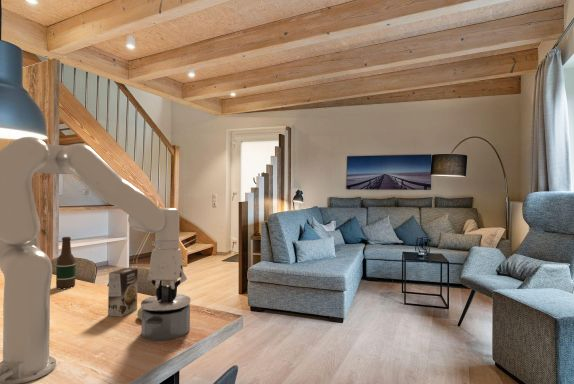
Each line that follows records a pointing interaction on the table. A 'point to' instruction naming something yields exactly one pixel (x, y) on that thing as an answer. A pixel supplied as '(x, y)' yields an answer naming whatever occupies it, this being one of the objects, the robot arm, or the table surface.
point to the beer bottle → (65, 266)
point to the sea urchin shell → (140, 313)
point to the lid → (165, 301)
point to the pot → (165, 323)
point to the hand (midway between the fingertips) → (166, 299)
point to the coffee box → (122, 292)
